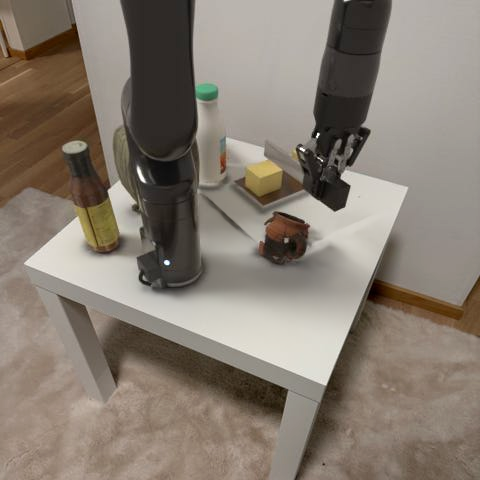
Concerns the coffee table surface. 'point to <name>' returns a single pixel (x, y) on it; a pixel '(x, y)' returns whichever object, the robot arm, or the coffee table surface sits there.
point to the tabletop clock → (125, 165)
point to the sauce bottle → (91, 199)
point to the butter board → (287, 188)
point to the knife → (334, 187)
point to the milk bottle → (210, 135)
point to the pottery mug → (278, 231)
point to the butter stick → (263, 177)
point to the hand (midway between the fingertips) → (322, 194)
